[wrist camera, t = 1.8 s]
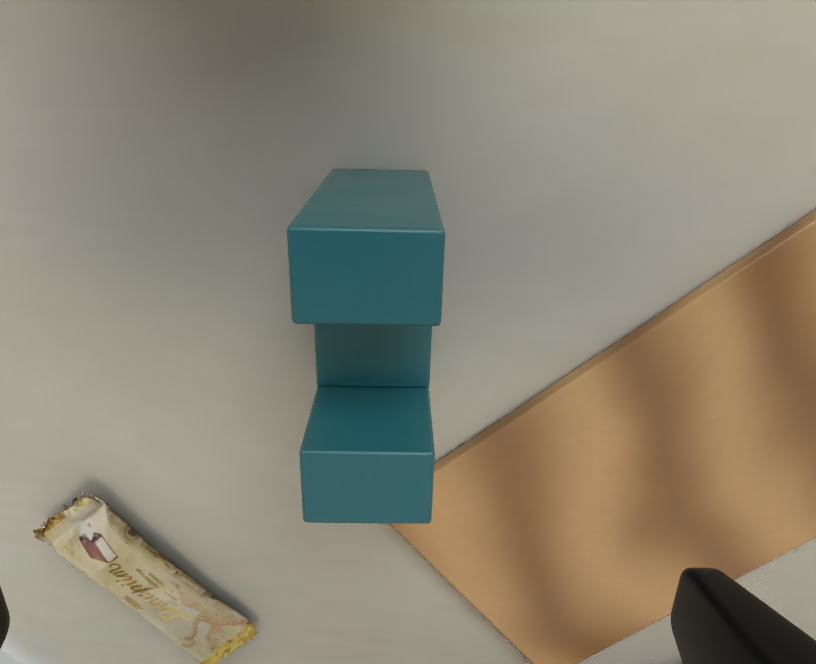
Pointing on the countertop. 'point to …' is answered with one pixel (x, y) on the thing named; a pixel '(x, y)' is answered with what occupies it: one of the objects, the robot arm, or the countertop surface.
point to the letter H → (369, 343)
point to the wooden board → (642, 465)
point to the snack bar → (145, 579)
